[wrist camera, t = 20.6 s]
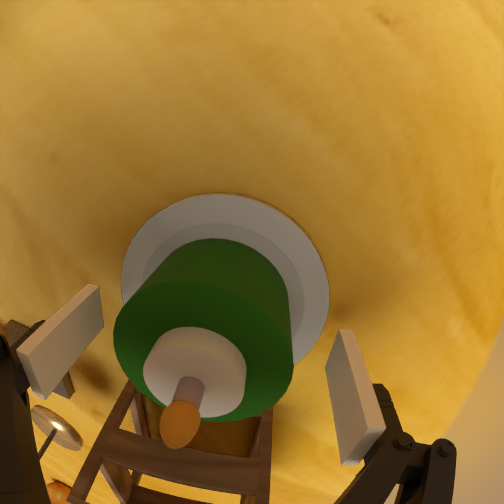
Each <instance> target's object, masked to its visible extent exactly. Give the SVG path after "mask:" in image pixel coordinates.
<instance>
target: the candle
mask: <svg viewBox="0 0 504 504" xmlns="http://www.w3.org/2000/svg"><path fill="white" fill-rule="evenodd" d="M113 338H114V348H115V352H116V356H117V359H118V361H119V363H120V365H121V367H122V369H123V371H124V373H125V374H126V375H127V377H128V378H129V380H130V381H131V382H132V383H133V384H134V385H135V387H136V388H137V389H138V390H139V391H140V392H141V393H143V394H144V395H145V396H146V397H148V398H149V399H150V400H152V401H153V402H154V403H156V404H158V405H159V406H161V407H163V408H165V410H164V411H163V413H162V415H161V418H160V435H161V438H162V440H163V442H164V444H165V445H166V446H167V447H169V448H171V449H178V448H182V447H184V446H185V445H187V444H188V443H189V442H190V441H191V440H192V439H193V438H194V436H195V435H196V433H197V431H198V429H199V426H200V421H208V422H231V421H238V420H243V419H246V418H250V417H253V416H256V415H258V414H260V413H262V412H264V411H266V410H268V409H269V408H270V407H271V406H273V405H274V404H275V403H277V402H278V401H279V399H280V398H281V397H282V396H283V395H284V394H285V392H286V391H287V388H288V386H289V384H290V382H291V380H292V374H293V368H294V363H293V349H292V335H291V322H290V309H289V299H288V292H287V289H286V286H285V283H284V280H283V278H282V277H281V275H280V273H279V272H278V270H277V269H276V267H275V266H274V265H273V264H272V263H271V262H270V261H269V260H268V259H267V258H266V257H265V256H263V255H262V254H261V253H259V252H258V251H256V250H255V249H253V248H251V247H249V246H247V245H245V244H243V243H240V242H236V241H232V240H228V239H220V238H207V239H200V240H195V241H192V242H190V243H187V244H184V245H182V246H181V247H179V248H177V249H176V250H174V251H173V252H172V253H171V254H170V255H169V256H168V257H167V258H166V259H165V260H164V261H163V262H162V263H161V264H160V265H159V266H158V267H157V268H156V270H155V271H154V272H153V273H152V274H151V275H150V276H149V277H148V279H147V280H146V281H145V282H144V283H143V284H142V285H141V286H140V288H139V289H138V290H137V291H136V292H135V293H134V294H133V296H132V297H131V298H130V299H129V300H128V301H127V303H126V304H125V305H124V306H123V307H122V309H121V311H120V313H119V315H118V317H117V318H116V322H115V327H114V331H113Z"/></svg>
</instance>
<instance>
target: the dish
mask: <svg viewBox="0 0 504 504" xmlns="http://www.w3.org/2000/svg"><path fill="white" fill-rule="evenodd" d="M207 238H220V239H228V240H232V241H236V242H240V243H243V244H245V245H247V246H249V247H251V248H253V249H255V250H256V251H258V252H259V253H261V254H262V255H263V256H265V257H266V258H267V259H268V260H269V261H270V262H271V263H272V264H273V265H274V266H275V267H276V269H277V270H278V272H279V273H280V275H281V277H282V278H283V280H284V283H285V286H286V289H287V292H288V299H289V309H290V322H291V335H292V349H293V363H294V364H296V363H297V362H298V361H300V360H301V359H302V358H303V357H304V356H305V355H306V354H307V353H308V352H309V351H310V350H311V348H312V347H313V346H314V344H315V343H316V342H317V340H318V338H319V336H320V335H321V333H322V331H323V328H324V325H325V323H326V320H327V315H328V311H329V300H330V295H329V284H328V279H327V275H326V271H325V268H324V266H323V263H322V261H321V259H320V256H319V254H318V251H317V249H316V248H315V246H314V244H313V243H312V241H311V239H310V238H309V237H308V235H307V234H306V233H305V232H304V230H303V229H302V228H301V227H300V226H299V225H298V224H297V223H296V222H295V221H294V220H293V219H291V218H290V217H289V216H288V215H286V214H285V213H283V212H282V211H280V210H279V209H277V208H275V207H274V206H272V205H270V204H268V203H266V202H264V201H261V200H258V199H255V198H252V197H249V196H245V195H240V194H235V193H222V192H219V193H205V194H200V195H195V196H191V197H188V198H185V199H182V200H180V201H177V202H176V203H174V204H172V205H170V206H168V207H166V208H165V209H163V210H161V211H160V212H158V213H157V214H156V215H154V216H153V217H152V218H150V219H149V220H148V221H147V222H146V223H145V224H144V225H143V226H142V227H141V228H140V229H139V231H138V232H137V233H136V235H135V236H134V238H133V239H132V241H131V243H130V245H129V247H128V249H127V251H126V254H125V258H124V261H123V265H122V271H121V291H122V298H123V302H124V305H125V304H126V303H127V301H128V300H129V299H130V298H131V297H132V296H133V294H134V293H135V292H136V291H137V290H138V289H139V288H140V286H141V285H142V284H143V283H144V282H145V281H146V280H147V279H148V277H149V276H150V275H151V274H152V273H153V272H154V271H155V270H156V268H157V267H158V266H159V265H160V264H161V263H162V262H163V261H164V260H165V259H166V258H167V257H168V256H169V255H170V254H171V253H172V252H173V251H174V250H176V249H177V248H179V247H181V246H182V245H184V244H187V243H190V242H192V241H195V240H200V239H207Z"/></svg>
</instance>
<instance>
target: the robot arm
mask: <svg viewBox="0 0 504 504" xmlns="http://www.w3.org/2000/svg"><path fill="white" fill-rule="evenodd" d="M103 327H104V323H103V315H102V307H101V297H100V287H99V286H97V285H93V284H89V283H88V284H87V285H86V286H85V287H84V288H83V289H81V290H80V291H79V292H78V293H77V294H76V295H74V296H73V297H72V298H71V299H70V300H69V301H68V302H66V303H65V304H64V305H63V306H62V307H61V308H60V309H59V310H58V311H56V312H55V313H54V314H53V315H52V316H51V317H50V318H49V319H48V320H47V321H46V320H42V321H40V322H37V323H35V324H34V325H33V326H32V327H31V328H30V329H29V330H28V331H27V332H25V333H24V335H22V336H21V337H20V338H19V339H18V340H17V341H16V342H15V343H14V344H13V345H12V346H11V347H10V348H9V345H8V343H7V340H6V337H5V336H4V335H2V334H0V504H51V501H50V498H49V495H48V491H47V488H46V485H45V481H44V477H43V474H42V470H41V466H40V461H39V457H38V453H37V448H36V443H35V437H34V432H33V425H32V419H31V411H30V403H29V395H28V392H27V389H28V388H29V387H30V386H31V388H32V391H33V393H34V394H35V395H37V396H38V397H40V398H42V399H44V400H46V399H47V398H48V397H49V395H50V394H51V392H52V391H53V390H54V389H55V387H56V386H57V385H58V383H59V382H60V381H61V379H62V378H63V377H64V375H65V374H66V373H67V372H68V370H69V369H70V368H71V366H72V365H73V364H74V363H75V361H76V360H77V359H78V358H79V356H80V355H81V354H82V353H83V351H84V350H85V349H86V348H87V346H88V345H89V344H90V343H91V342H92V340H93V339H94V338H95V337H96V336H97V334H98V333H99V332H100V331H101V330H102V328H103ZM325 370H326V376H327V381H328V387H329V392H330V398H331V403H332V409H333V415H334V421H335V427H336V433H337V440H338V446H339V453H340V460H341V465H358V464H359V463H360V462H361V460H362V459H363V458H364V462H365V466H364V467H363V468H362V469H361V470H360V472H359V473H358V474H357V475H356V477H355V479H354V480H353V481H352V482H351V484H350V485H349V486H348V487H347V489H346V490H345V491H344V492H343V493H342V495H341V496H340V497H339V498H338V499H337V500H336V502H335V503H334V504H384V502H385V501H386V499H387V498H388V496H389V495H390V493H391V491H392V490H393V488H394V486H395V485H396V484H400V485H399V489H398V493H397V496H396V500H395V503H394V504H451V503H452V496H453V489H454V479H455V469H456V455H457V453H456V448H455V446H454V444H453V443H452V442H450V441H449V440H447V439H437V440H436V441H435V442H434V443H433V444H432V445H427V444H421V443H417V442H415V440H414V439H413V437H412V436H411V435H409V434H408V433H406V432H403V430H402V427H401V424H400V421H399V419H398V416H397V413H396V410H395V408H394V405H393V402H392V401H391V400H392V399H391V397H390V394H389V391H388V390H387V389H386V388H385V387H384V386H383V385H382V384H372V383H371V380H370V377H369V374H368V371H367V368H366V365H365V362H364V360H363V357H362V354H361V351H360V349H359V346H358V343H357V340H356V338H355V335H354V332H353V330H348V329H339V330H338V333H337V336H336V339H335V342H334V344H333V347H332V350H331V353H330V355H329V358H328V361H327V363H326V366H325Z"/></svg>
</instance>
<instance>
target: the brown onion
mask: <svg viewBox="0 0 504 504" xmlns="http://www.w3.org/2000/svg"><path fill="white" fill-rule="evenodd" d="M46 488H47V491H48V495H49V498H50V501H51V504H69V503H68V502H67V501H66V499H67V497H68V495H69V493H70V491H71V488H69V487H68V486H66V485H64V484H62V483H59V482H52V483H50V484H48V485H47V487H46Z"/></svg>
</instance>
